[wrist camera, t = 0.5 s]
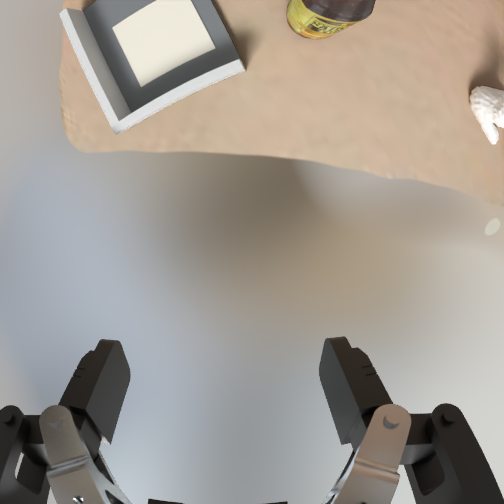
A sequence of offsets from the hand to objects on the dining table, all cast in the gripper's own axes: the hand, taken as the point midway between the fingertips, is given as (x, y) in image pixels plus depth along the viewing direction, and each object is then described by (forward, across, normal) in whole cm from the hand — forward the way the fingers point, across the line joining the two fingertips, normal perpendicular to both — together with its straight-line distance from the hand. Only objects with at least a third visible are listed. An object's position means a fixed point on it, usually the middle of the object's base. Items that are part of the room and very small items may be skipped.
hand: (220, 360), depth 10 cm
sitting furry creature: (+22, -37, -18) cm, 47 cm away
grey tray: (+25, +9, -23) cm, 35 cm away
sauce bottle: (+24, -10, -24) cm, 35 cm away
